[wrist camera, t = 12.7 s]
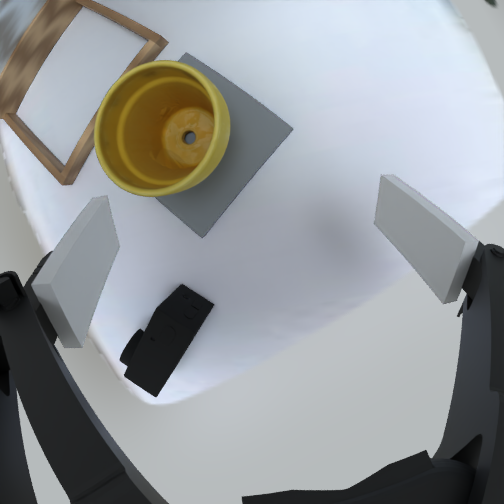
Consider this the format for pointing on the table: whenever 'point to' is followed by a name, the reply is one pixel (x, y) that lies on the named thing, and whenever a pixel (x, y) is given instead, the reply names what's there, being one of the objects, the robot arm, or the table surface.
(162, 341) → the digital camera
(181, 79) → the plant pot
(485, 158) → the table surface
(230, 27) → the table surface
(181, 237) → the table surface
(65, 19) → the cold frame
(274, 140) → the mat
